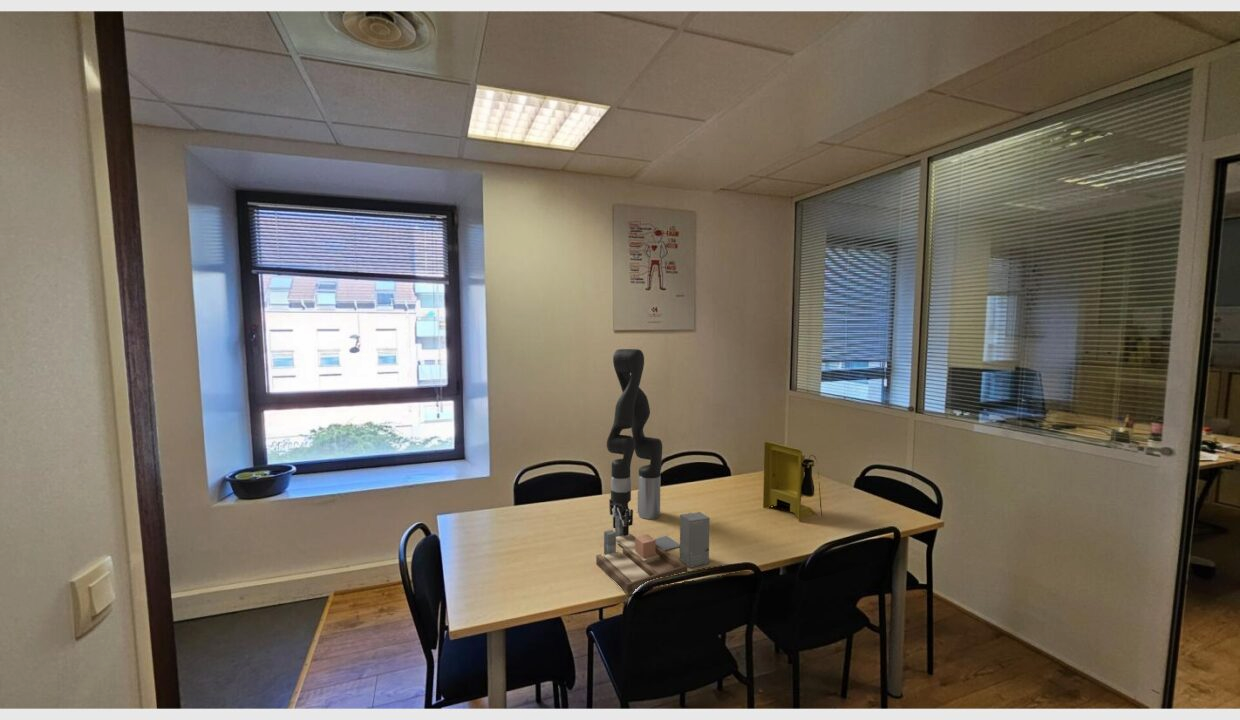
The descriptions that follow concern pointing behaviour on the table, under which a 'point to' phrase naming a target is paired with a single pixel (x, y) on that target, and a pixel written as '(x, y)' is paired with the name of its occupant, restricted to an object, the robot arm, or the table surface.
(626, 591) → the lane board
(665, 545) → the pad
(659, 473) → the robot arm
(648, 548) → the cube
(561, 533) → the table surface
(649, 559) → the strip
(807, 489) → the vintage telephone
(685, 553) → the skincare box
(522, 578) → the table surface
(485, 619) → the table surface
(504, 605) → the table surface
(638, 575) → the strip
